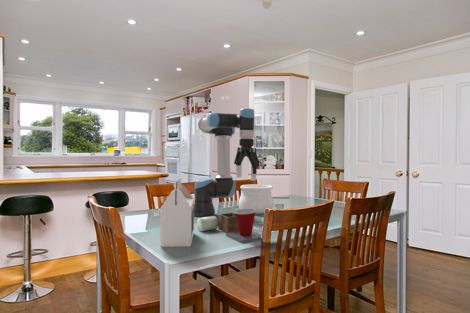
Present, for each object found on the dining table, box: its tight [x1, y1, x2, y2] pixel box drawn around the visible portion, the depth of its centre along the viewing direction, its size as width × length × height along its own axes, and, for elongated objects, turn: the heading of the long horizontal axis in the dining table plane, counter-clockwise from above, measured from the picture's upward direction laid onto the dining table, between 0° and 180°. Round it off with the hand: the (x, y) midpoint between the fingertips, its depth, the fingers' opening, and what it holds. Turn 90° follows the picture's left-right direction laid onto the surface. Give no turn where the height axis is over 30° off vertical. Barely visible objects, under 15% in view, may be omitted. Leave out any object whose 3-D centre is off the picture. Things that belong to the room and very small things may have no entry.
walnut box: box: [217, 212, 239, 234], centre depth 165 cm, size 9×9×8 cm
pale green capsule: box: [196, 215, 218, 232], centre depth 165 cm, size 9×7×7 cm
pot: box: [238, 183, 275, 215], centre depth 217 cm, size 26×24×18 cm
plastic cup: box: [234, 208, 256, 236], centre depth 152 cm, size 11×11×12 cm
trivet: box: [225, 230, 262, 244], centre depth 152 cm, size 14×14×1 cm
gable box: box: [160, 178, 195, 248], centre depth 147 cm, size 22×13×28 cm, turn 4°
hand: (245, 178), depth 164 cm, fingers open, 13 cm apart
